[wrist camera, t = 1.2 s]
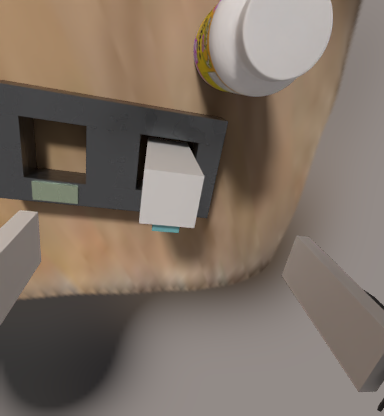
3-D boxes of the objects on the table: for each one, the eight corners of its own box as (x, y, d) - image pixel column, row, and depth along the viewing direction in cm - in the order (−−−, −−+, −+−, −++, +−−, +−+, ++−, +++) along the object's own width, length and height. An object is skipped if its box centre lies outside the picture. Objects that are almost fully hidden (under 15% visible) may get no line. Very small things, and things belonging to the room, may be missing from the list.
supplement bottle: (219, -11, 23) (285, -104, 11) (276, 40, 25) (380, 6, 13) (177, 64, 25) (197, 49, 13) (234, 105, 27) (292, 124, 15)
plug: (148, 136, 27) (144, 168, 17) (186, 142, 28) (204, 176, 18) (143, 181, 29) (137, 232, 19) (180, 185, 30) (192, 237, 20)
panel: (2, 80, 24) (-19, 80, 21) (220, 117, 27) (228, 121, 24) (13, 186, 28) (-3, 198, 25) (202, 206, 31) (207, 219, 28)
